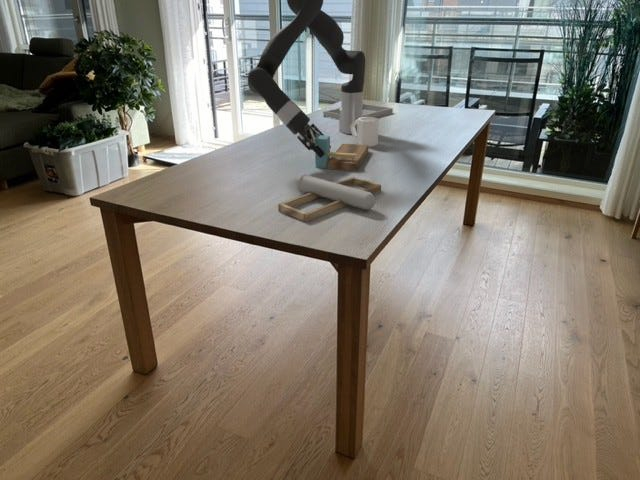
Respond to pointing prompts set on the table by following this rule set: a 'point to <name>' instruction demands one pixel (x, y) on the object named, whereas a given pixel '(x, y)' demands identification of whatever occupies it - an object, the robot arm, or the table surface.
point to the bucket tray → (379, 109)
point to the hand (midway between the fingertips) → (326, 152)
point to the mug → (366, 131)
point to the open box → (348, 162)
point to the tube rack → (287, 205)
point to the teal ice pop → (328, 152)
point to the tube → (336, 192)
